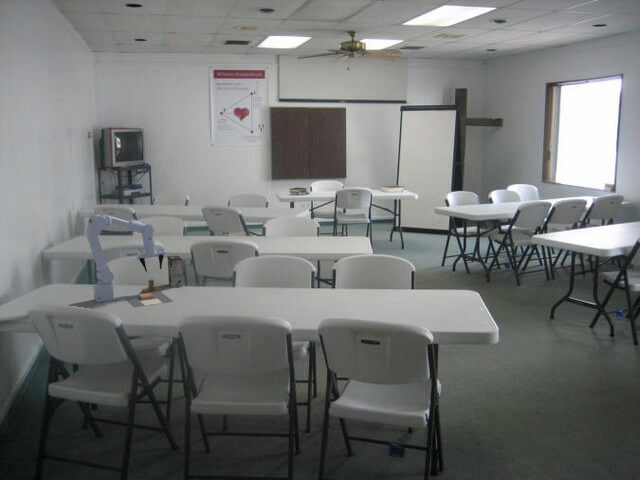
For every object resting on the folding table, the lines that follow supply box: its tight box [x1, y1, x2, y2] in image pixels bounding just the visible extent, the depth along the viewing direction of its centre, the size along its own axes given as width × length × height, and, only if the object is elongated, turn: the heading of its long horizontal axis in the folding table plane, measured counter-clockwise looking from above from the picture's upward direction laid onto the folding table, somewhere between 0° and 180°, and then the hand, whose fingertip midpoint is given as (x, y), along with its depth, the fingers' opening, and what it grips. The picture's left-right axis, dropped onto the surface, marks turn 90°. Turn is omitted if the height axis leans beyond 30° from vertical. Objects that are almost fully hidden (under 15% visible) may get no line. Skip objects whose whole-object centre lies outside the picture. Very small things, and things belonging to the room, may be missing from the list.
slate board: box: [122, 291, 174, 308], centre depth 316 cm, size 20×22×1 cm
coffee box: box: [167, 255, 184, 288], centre depth 344 cm, size 9×6×16 cm
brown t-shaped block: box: [141, 279, 162, 294], centre depth 330 cm, size 10×2×7 cm, turn 121°
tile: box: [138, 292, 154, 300], centre depth 318 cm, size 6×6×2 cm
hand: (153, 270), depth 329 cm, fingers open, 7 cm apart
